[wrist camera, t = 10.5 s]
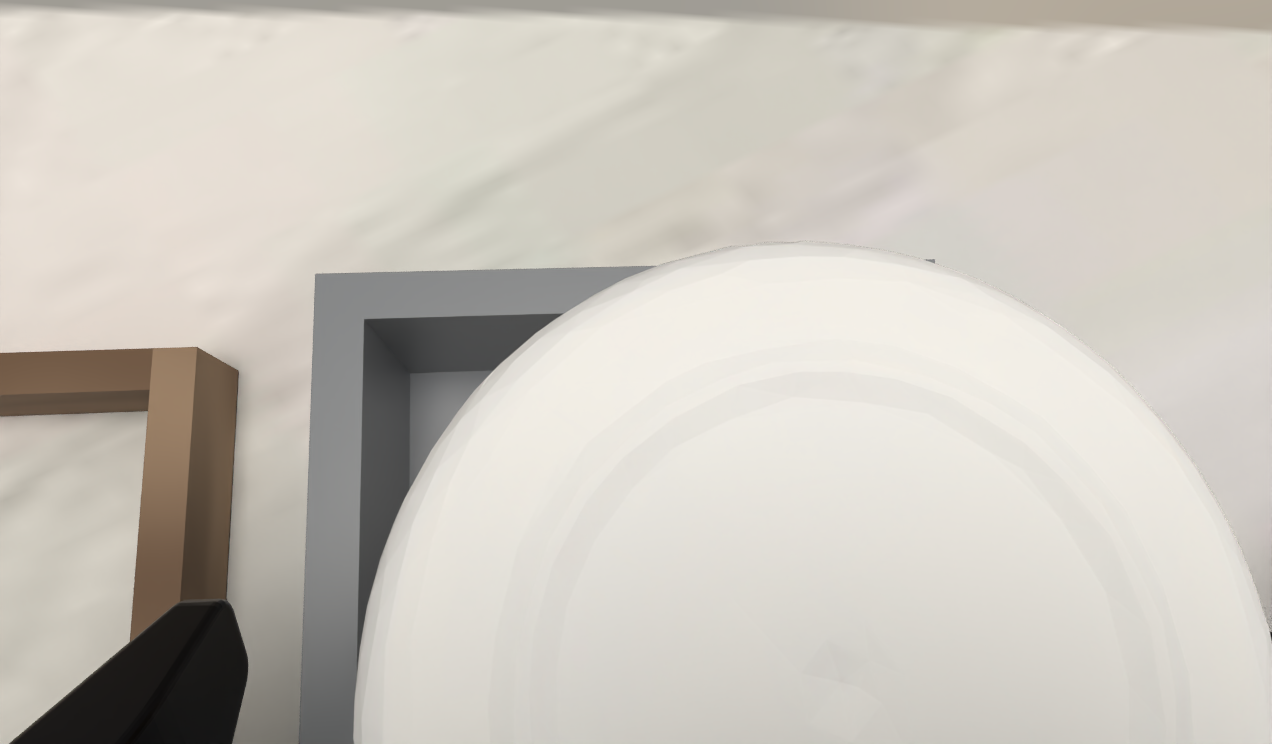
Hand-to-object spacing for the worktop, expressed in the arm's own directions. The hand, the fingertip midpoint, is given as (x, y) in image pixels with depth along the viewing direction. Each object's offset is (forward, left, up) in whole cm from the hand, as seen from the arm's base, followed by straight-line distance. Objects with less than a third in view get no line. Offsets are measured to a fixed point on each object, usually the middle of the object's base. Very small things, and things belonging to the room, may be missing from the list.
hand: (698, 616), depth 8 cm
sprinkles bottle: (0, 0, -9) cm, 9 cm away
